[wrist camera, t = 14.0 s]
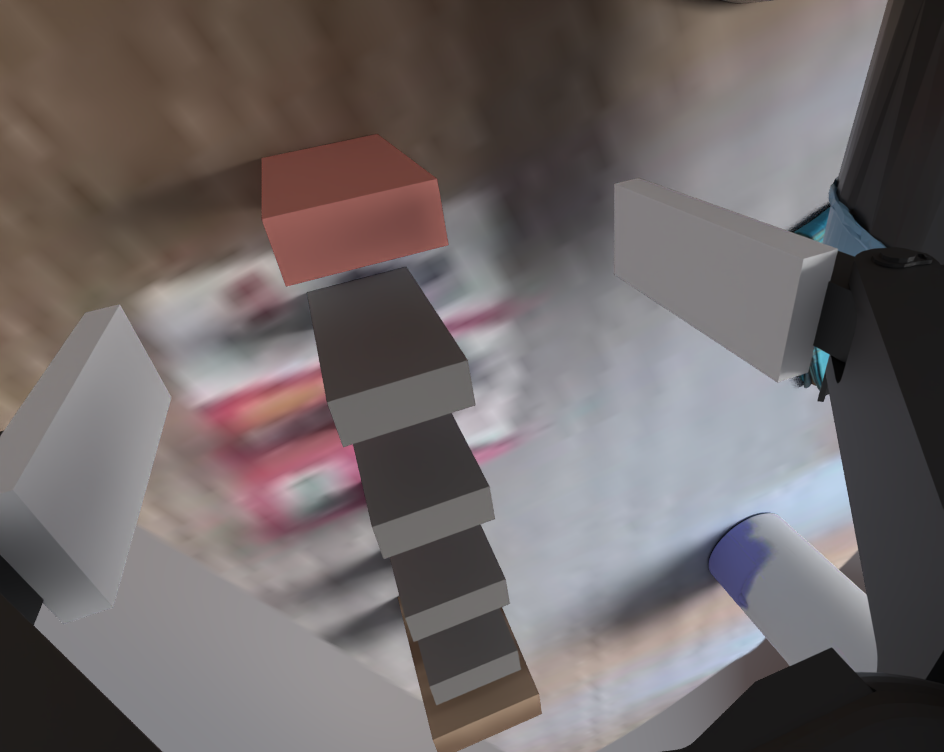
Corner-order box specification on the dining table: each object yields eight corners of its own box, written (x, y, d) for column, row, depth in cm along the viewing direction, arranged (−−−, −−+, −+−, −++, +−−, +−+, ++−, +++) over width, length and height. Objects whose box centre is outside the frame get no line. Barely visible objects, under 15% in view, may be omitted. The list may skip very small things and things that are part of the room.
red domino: (387, 180, 30) (448, 245, 20) (277, 205, 29) (286, 286, 19) (377, 133, 29) (437, 178, 19) (261, 158, 27) (261, 219, 18)
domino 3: (369, 478, 40) (405, 618, 30) (447, 452, 41) (505, 579, 31) (377, 501, 41) (413, 641, 31) (452, 475, 42) (509, 603, 33)
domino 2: (341, 396, 36) (372, 527, 26) (429, 370, 37) (489, 486, 27) (351, 424, 37) (383, 559, 27) (435, 398, 38) (494, 519, 28)
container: (775, 556, 66) (945, 724, 49) (704, 588, 64) (855, 773, 48) (788, 499, 60) (984, 668, 44) (710, 532, 58) (884, 720, 42)
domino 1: (306, 292, 32) (326, 402, 22) (406, 266, 33) (467, 360, 23) (319, 328, 33) (343, 447, 23) (414, 302, 34) (475, 405, 24)
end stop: (397, 597, 47) (432, 739, 38) (483, 564, 49) (538, 693, 39) (404, 617, 49) (440, 758, 39) (487, 584, 50) (541, 713, 41)
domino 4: (392, 544, 44) (429, 686, 34) (462, 519, 45) (517, 650, 35) (398, 563, 45) (436, 705, 36) (466, 538, 46) (521, 669, 37)
